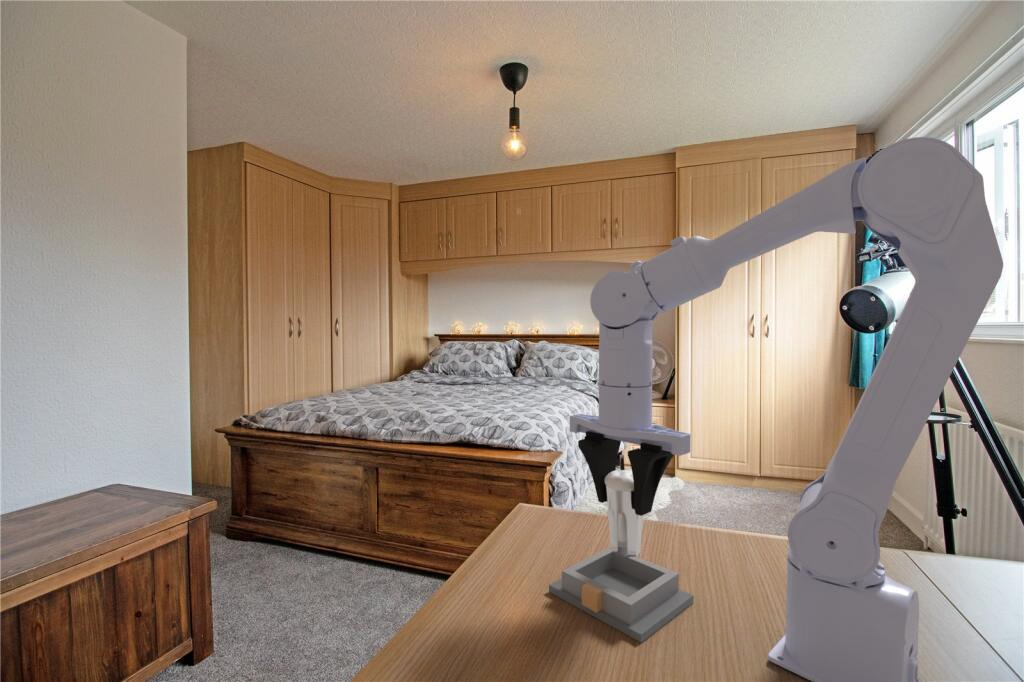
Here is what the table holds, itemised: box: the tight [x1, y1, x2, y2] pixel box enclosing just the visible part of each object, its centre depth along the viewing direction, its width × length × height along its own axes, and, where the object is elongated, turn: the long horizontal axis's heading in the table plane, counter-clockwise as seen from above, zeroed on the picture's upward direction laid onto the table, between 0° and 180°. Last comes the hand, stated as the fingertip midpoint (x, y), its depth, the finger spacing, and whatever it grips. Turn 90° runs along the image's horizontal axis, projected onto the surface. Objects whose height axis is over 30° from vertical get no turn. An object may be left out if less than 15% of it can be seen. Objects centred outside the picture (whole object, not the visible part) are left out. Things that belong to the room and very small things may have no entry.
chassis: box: [548, 545, 695, 644], centre depth 55 cm, size 12×10×3 cm
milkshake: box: [605, 454, 644, 557], centre depth 56 cm, size 4×5×10 cm
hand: (624, 506), depth 55 cm, fingers closed on milkshake, 4 cm apart
